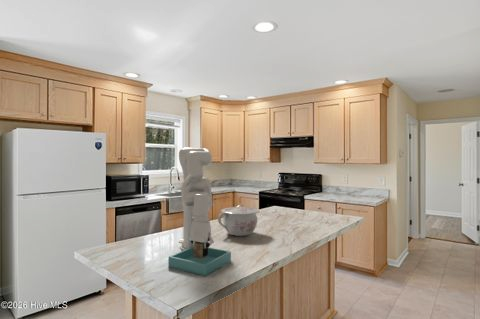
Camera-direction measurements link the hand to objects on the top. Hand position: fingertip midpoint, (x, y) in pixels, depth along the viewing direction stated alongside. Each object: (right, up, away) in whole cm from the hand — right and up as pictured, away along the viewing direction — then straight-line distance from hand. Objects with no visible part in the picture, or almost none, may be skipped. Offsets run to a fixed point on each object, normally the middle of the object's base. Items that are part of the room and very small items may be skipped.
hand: (200, 254), depth 143 cm
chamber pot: (+19, -6, +60) cm, 63 cm away
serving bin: (0, -5, 0) cm, 5 cm away
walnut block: (0, -1, 0) cm, 1 cm away
